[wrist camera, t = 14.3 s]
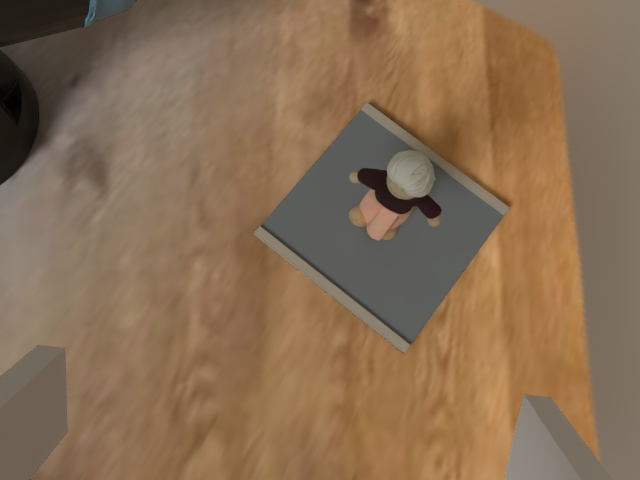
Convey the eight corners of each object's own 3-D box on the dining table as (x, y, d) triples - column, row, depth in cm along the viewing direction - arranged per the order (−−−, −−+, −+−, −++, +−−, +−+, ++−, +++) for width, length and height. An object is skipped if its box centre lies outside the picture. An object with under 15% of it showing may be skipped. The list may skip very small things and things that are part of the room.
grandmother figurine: (331, 228, 44) (348, 175, 32) (345, 188, 45) (366, 122, 33) (416, 256, 44) (466, 214, 31) (428, 216, 45) (481, 159, 32)
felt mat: (254, 235, 44) (253, 233, 43) (365, 105, 47) (366, 102, 47) (403, 353, 42) (404, 352, 41) (506, 210, 46) (510, 207, 45)
